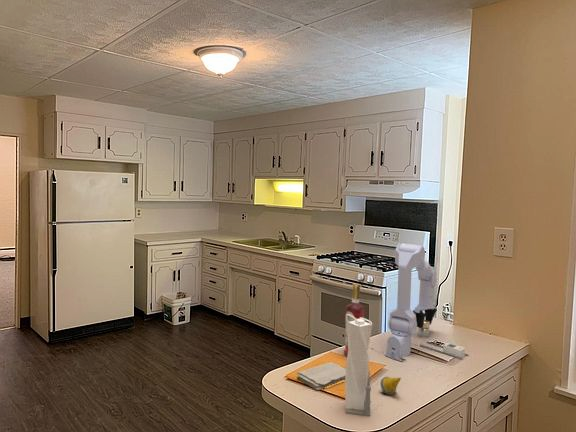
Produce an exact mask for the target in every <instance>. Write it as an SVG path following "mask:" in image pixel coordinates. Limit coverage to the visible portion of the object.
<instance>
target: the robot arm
mask: <svg viewBox="0 0 576 432" xmlns="http://www.w3.org/2000/svg"><path fill="white" fill-rule="evenodd" d="M394 251H395V252H394V253H395V255H394V263H395V265H396V266H398V267H397V268H398V272H397V275H398V276H397V277H398V278H397V300H396V301H397V303H396V306H397V307H395V309H392V310H391V311H390V312H389V317H388V322H387V326H388V327H387V328H388V329H389V330H390V333H391V335H390V337H388V338H387V341H386V342H387V343H386V353H384V356H385V357H388V358H391V359H393V360H396V361H399V362H402V363H403V362H404V361H406V360H407V359H405V358H403V357H406V356H409V355H411V348H412V336H413V335H414V334H416V332H417V329H419V328H422V327H423V323H424V319H425V320H429V321H430V324H429V326H431V325H432V322H433V319H434V316H435V314H436V313H437V312H438V309H437V308H436V302H434V288H435V284H436V280H437V271H436V270H435V269H434V268H432V266H431V265H430V262H429V261H428V260H427V259H425V254H426V253H425V247H424V245H422V244H420V245H419V244H413V243H403V242H398V244H397V245H396V248H395V249H394ZM413 269H415V270H416V271H417V278H418V280H419V294H418V304H417V305H416V307H414V310H412V309H411V294H412V270H413ZM423 311H424V312H423Z"/></svg>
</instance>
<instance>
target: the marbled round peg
mask: <svg viewBox="0 0 576 432" xmlns="http://www.w3.org/2000/svg"><path fill="white" fill-rule="evenodd" d="M429 324H430V321H429V320H426V319H425V318H424V323H423V327H422V328H419V327H418V333H417V334H418V335H417V336H419V337H421V338H429V336H430V325H429Z"/></svg>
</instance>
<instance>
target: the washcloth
mask: <svg viewBox="0 0 576 432" xmlns="http://www.w3.org/2000/svg"><path fill="white" fill-rule="evenodd" d="M296 374H297V376H296V379H298V380H299V379H300V380H299V382H301V383H303V384H305V385H307V386H308V387H310V388H312V389H314V390H316V391H322V390H321V389H323V388H325V387H327V386H329V385H332V384H335V383H337V382H339V381H342V380H345V374H346V367H345V368H344V367H342V366H341V365H339V364H337V363H334V362H332V361H331V362H326V363H324V364H319V365H317V366H313V367H309V368H307V369H303V370H299V371H298V372H297V373H296ZM323 390H324V389H323Z"/></svg>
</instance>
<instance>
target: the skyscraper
mask: <svg viewBox="0 0 576 432" xmlns="http://www.w3.org/2000/svg"><path fill="white" fill-rule="evenodd" d="M347 316H351V317H352V318H354V319H355V321H351V322H348V317H347ZM346 318H347V332H348V349H349V350H348V355H346V362H345V369H346V374H345V382H344V384H345V385H344V387H345V388H344V389H345V391H344V392H345V395H344V397H345V414H351V415H356V416H357V415H358V416H363V417H364V416H366V417H371V402H372V401H371V391H372V386H371V377H370V376H371V375H370V374H371V371H370V359H369V353H368V348H369V343H370V339H371V335H372V330H373V326H374V325H373V322H372V321H371V320H370V319H367V318H365V317H364V318H362V317H360V319H356V318H355V317H354V316H352V315H350V314H346V313H345V319H346Z"/></svg>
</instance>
